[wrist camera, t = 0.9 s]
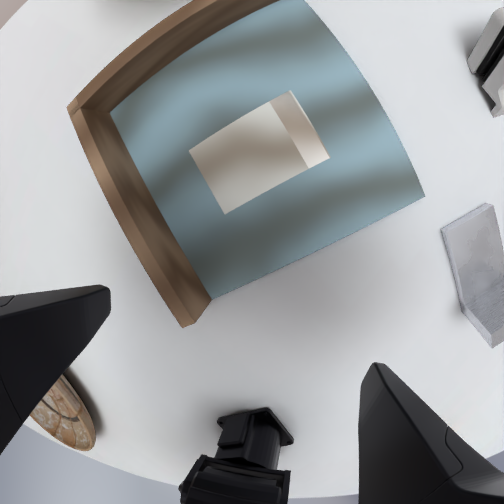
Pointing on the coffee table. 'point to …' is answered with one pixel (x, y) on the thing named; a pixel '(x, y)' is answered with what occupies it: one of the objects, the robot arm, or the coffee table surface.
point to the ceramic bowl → (65, 416)
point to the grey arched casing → (491, 60)
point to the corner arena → (238, 146)
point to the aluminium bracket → (479, 270)
